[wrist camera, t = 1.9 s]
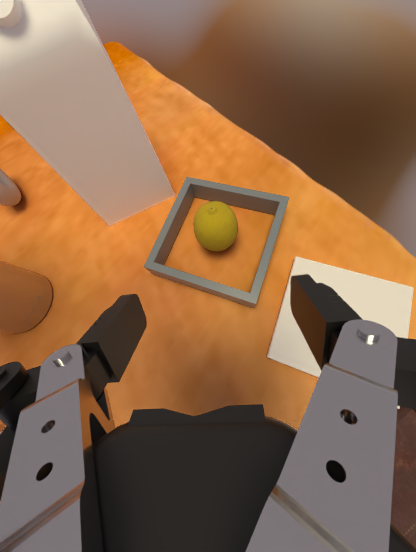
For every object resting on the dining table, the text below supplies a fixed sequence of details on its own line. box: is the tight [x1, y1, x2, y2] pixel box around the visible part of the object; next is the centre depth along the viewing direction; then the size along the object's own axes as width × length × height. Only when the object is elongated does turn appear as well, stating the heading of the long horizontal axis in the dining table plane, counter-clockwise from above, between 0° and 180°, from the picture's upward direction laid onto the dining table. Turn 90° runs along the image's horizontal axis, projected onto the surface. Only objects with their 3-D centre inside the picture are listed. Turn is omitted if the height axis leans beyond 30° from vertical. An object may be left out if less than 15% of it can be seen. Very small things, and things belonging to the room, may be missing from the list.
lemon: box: [194, 201, 238, 251], centre depth 26 cm, size 6×6×8 cm
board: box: [267, 257, 414, 409], centre depth 24 cm, size 13×13×1 cm
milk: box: [0, 0, 176, 226], centre depth 23 cm, size 12×12×26 cm
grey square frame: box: [144, 177, 289, 308], centre depth 28 cm, size 15×15×3 cm
